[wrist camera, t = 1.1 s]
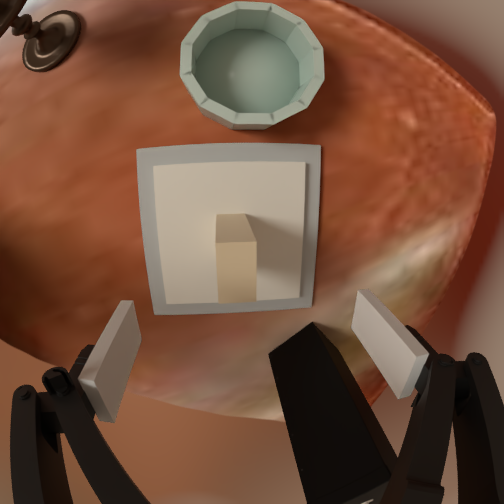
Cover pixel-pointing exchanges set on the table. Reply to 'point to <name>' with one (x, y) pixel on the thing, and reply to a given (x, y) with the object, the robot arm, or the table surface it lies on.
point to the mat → (228, 154)
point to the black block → (330, 423)
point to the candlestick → (41, 34)
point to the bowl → (251, 65)
